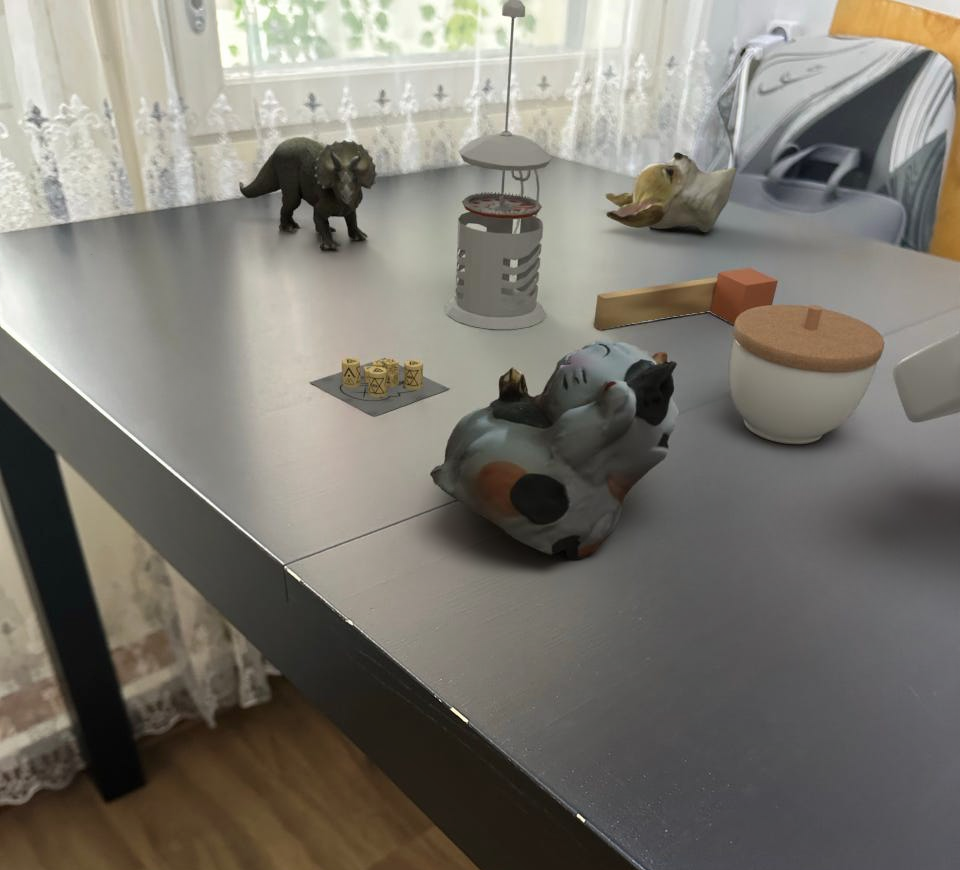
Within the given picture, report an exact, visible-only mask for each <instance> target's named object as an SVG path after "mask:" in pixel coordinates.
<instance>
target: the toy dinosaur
mask: <svg viewBox="0 0 960 870" xmlns="http://www.w3.org/2000/svg"><path fill="white" fill-rule="evenodd" d="M355 141H356V140H351V141H347V140H345V139H343V141H341V142H339V141H337V140H334V142H333V143H331V144H327V143H326V144H325V143H323V142H321V141H319V140H317V139H313V138H309V137H305V136H295V137H292V138H289V139H288V138H287V139H285V140H284V141H282V142H280V143H279V144H278V145H277V146H276V148H275V149H274V151H273V152H272V153H271V154H270V155H269V157H268V158H267V160H266V161H265V163H264V164H263V165H262V167H261V168H260V170H259V171H258V173H257V175H256V177H255V178H254V180H253V181H252V182H250V183H249V184H248V185H246V186H245V184H244V183H243V182H242V181H239V183H238V185H239V191H240V193H241V194H242V195H243V197H245V198H246V199H256V198H259V197H261V196H264V195H267V194H272V193H276V192H278V191H281V195H282V196H281V204H282V206H281V207H280V212H279V216H280V217H279V225H278V231H279V232H283V231H288V232H294V230H295V229H297V230H299V229H300V228H301V227H300V225H299V223H298V222H297V221H295V219H294V218H293V217H294V211H296V210H297V209H298V208H299V207H300V206H301V204H302V200H303V201H305V202H306V203H307V204H308V205H309V206H311V207H312V208H313V209H312V210H313V216H312V220H313V223H314V224H313V225H314V229H315V232H316V233H318V234H319V236H320V239H321V243H320V245H319V249H324V250H330V249H332V250H334V249H337V248H340V247H341V244H340V243H339V242H337V241H335V240H334V238H333V235H332V233H336V232H337V230H336V228H335V227H333V226H330V221H329V219H330V218H333V217H336V218H343V220H344V222H345V224H346V228H347V229H346V230H347V235H348V238H350V239H352V240H353V241H358V240H363V241H365V240H366V239H367V238H368V234H366V232H364V231H363V230H361V228H359V226H358V216H357V208H359V206H360V204H361V203H362V201H363V198H364V196H363V195H364V193H363V190H362V189H363V188H364V189H368V190H371V189H372V186H373V185H375V184H376V177H377V176H378V173H377V172H376V163H374V161H373V159H374V158H373V157H372V156H371V155H370V153H369V150H368V149H365V148H364V146H363V144H362V143H360V144H359V143H356V142H355Z"/></svg>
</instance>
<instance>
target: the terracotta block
mask: <svg viewBox="0 0 960 870" xmlns="http://www.w3.org/2000/svg"><path fill="white" fill-rule="evenodd" d="M717 277H718V278H717V283H716V288H715V293H714V298H713V303H712V307H711V312H712V313H714V314H716V315H717V316H719V317H721V318H723V319H725V320H727V321H728V322H730V323H732V324H733V325H732V324H731V325H732V326H734V324H735V321H736V319H737V317H738V316H739V315H740V314H741V313H742V312H744V311H746V310H748V309H752V308H755V307H760V306H767V305H773V302H774V299H775V295H776V291H777V287H778V282H779V280H778V279H776V278H774V277H771V276H769V275H767V274H765V273H762V272H761V271H758V270H756V269H754V268H751V267H746V268H739V269H731V270H724V271H719V272H717ZM728 322H727V323H728ZM730 323H729V324H730Z"/></svg>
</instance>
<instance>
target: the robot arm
mask: <svg viewBox="0 0 960 870" xmlns="http://www.w3.org/2000/svg"><path fill="white" fill-rule="evenodd" d="M892 377H893V381H894V385H895V388H896V392H897V393H898V397H899V400H900V403H901V406H902V408H903V411H904V413H905V416H906V417H907V419H908V421H910V422H911V423H915V424H917V423H923V422H928V421H931V420H936V419H939V418H943V417H947V416H951V415H955V414H959V413H960V329H958V330H956V331H955V332H953V333H951V334H948V335H947V336H945V337H942V338H940V339H938V340H936V341H935V342H932V343H930V344H929V345H926V346H924V347H922V348H921V349H919V350H916V351H914V352H912V353H911V354H908V355H907V356H905V357H904V358H902V359H901V360H899V361H898V362H897V364H896V365H894V368H893V370H892Z"/></svg>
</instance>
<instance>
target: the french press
mask: <svg viewBox="0 0 960 870" xmlns="http://www.w3.org/2000/svg"><path fill="white" fill-rule="evenodd" d="M501 16H502V17H508V18H509V17H510V18H511V20H510V21H511V24H510V41H509V55H508V56H509V57H508V58H509V59H508V74H507V88H506V89H507V91H506V109H505V124H504V125H505V126H504V127H505V128H504V131H501V132H495V133H491V134H487V135H482V136H480V137H477V138H474V139H471V140H470V141H469V142H467V143H466V144H465V145H464V146H463V147H461V148H460V149H459V150H458V153H459V155H460V157H461V159H462V161H463V162H464V163H467V164H469V165H470V166H474V167H479V168H483V169H488V170H496V171H502V175H501V190H500V191H501V192H497V191H496V192H493V191H491V192H486V191H485V192H480V193H474V194H469V195H467V196H466V197H464V199H463V200H462V201H461V202H462V205H463V207H464V209H465V211H468V212H464V213H461V215H459V216H458V218H457V236H456V237H457V241H456V243H457V250H456V260H457V261H456V270H455V273H456V276H455V290H454V291H455V295H454V296H453V297H452V298H451V299H450V300H449V301H448V302H447V304H445V306H444V310H445V313H446V315H447V316H448V317H450V318H451V319H453V321H456V322H458V323H462V324H464V325H467V326H470V327H474V328H479V329H480V328H481V329H488V330H518V329H523V328H524V329H525V328H529V327H533V326H536V325H537V324H539V323H541V322H543V321H544V319H545V318H546V316H547V313H546V311H545V309H544V306H542V305H541V303H540V302H539V301H538V290H539V286H538V283H539V281H540V271H539V269H540V267H541V258H540V255H541V253H542V246H543V245H542V243H541V241H542V239H543V235H544V233H543V232H544V223H543V221H542V220H541V219H540V218H538V214H539V212H540V211H541V209H542V208H543V206H542V205H541V203H540V181H539V174H538V170H539V169H543V168H546V167H547V166H548V165H549V164H550V162H551V161H552V159H553V158H552V156H551V155H550V154H549V153H548V152H547V151H546V150H545V149H544V148H543V147H542V146H541V145H539V144H538V143H537V142H536V141H534V140H531V139H530V138H528V137H526V136H524V135H519V134H513V133H512V132H511V131H510V130H508V129H509V128H508V126H509V112H510V94H511V80H512V64H513V63H512V62H513V47H514V31H515V30H514V27H515V26H514V25H515V19H516V18H525V17H526V6H525V5H524V3H523V1H522V0H507V1H505V2H504V3H503V5H502V8H501ZM506 171H507V172H509V171H510V174H511V177H512V178H513V179H514V180H515V181H519V182H520V193H519V194H518V193H515V194H514V193H513V192H512V193H511V192H509V193H507V192H505V179H506V178H505V176H506ZM524 171H527V172H526V173H527V175H526V177H524V176H523V172H524ZM532 171H534V174H535V183H536V199H534V198H531V197H529V196H526V195H524V193H525V189H524V182H526V181H528V180H529V179H530V178H531V172H532ZM515 172H518V174H519V176H516V175H515ZM514 220H516V224H515V227H514ZM468 224H473V225H479V226H482V227H485V228H486V231H485V230H480V229H476V228H472V227H470V226H467V225H468ZM519 226H520V227H519ZM518 228H519V233H517V231H518ZM513 229H514V230H513ZM511 261H517V264H516V265H517V266H515V267H512V266H511ZM463 269H464V271H463ZM510 276H516V279H515V281H510Z"/></svg>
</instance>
